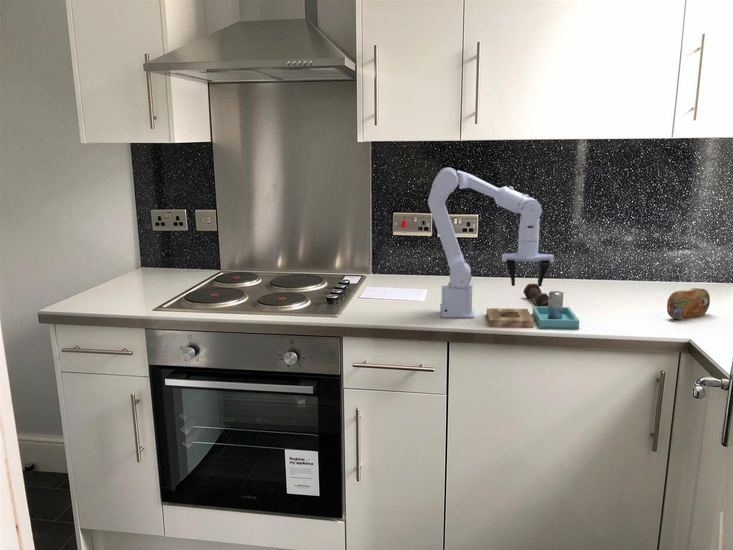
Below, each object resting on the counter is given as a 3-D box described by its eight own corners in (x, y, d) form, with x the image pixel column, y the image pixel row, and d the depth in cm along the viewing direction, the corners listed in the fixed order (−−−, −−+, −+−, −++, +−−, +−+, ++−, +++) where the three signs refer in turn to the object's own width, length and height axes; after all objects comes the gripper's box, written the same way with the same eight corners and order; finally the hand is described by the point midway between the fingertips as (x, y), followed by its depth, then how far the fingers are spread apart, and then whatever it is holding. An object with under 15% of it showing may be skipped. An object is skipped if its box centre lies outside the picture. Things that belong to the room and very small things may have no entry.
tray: (539, 328, 174) (540, 320, 174) (532, 314, 187) (532, 306, 187) (578, 329, 173) (579, 320, 172) (568, 315, 186) (569, 306, 186)
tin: (672, 322, 178) (675, 293, 176) (663, 319, 181) (666, 291, 179) (709, 315, 184) (712, 287, 182) (700, 312, 187) (703, 285, 185)
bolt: (544, 316, 192) (528, 302, 206) (558, 308, 191) (542, 294, 206) (535, 301, 190) (520, 287, 205) (550, 293, 190) (534, 279, 204)
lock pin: (548, 321, 178) (550, 294, 176) (546, 317, 182) (547, 291, 180) (563, 321, 178) (564, 294, 176) (560, 317, 182) (561, 291, 180)
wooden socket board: (489, 326, 176) (490, 320, 176) (486, 314, 188) (486, 308, 188) (533, 327, 175) (533, 320, 175) (527, 315, 187) (527, 308, 186)
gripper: (504, 242, 178) (502, 288, 181) (556, 242, 176) (553, 289, 179) (502, 237, 185) (500, 282, 188) (552, 238, 183) (549, 283, 186)
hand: (526, 285), depth 184 cm, fingers open, 7 cm apart
